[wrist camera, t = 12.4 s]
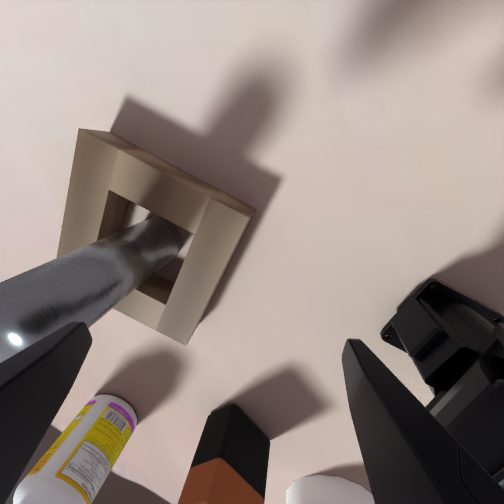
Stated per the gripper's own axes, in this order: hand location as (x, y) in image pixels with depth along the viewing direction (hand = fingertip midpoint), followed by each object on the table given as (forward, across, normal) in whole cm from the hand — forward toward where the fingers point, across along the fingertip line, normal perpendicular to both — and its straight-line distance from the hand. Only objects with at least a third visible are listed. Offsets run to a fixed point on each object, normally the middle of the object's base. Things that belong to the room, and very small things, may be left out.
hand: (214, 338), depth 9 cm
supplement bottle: (+11, +16, +27) cm, 33 cm away
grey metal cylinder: (+14, +8, +4) cm, 16 cm away
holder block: (+14, +8, +4) cm, 16 cm away
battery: (+9, 0, +25) cm, 27 cm away
